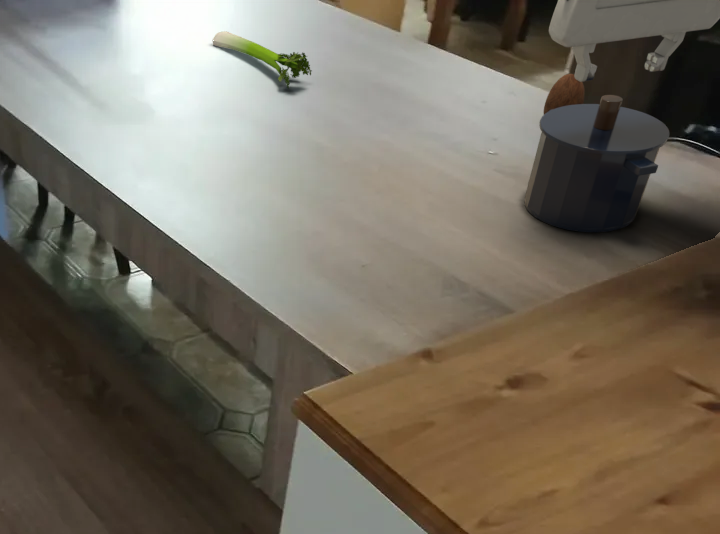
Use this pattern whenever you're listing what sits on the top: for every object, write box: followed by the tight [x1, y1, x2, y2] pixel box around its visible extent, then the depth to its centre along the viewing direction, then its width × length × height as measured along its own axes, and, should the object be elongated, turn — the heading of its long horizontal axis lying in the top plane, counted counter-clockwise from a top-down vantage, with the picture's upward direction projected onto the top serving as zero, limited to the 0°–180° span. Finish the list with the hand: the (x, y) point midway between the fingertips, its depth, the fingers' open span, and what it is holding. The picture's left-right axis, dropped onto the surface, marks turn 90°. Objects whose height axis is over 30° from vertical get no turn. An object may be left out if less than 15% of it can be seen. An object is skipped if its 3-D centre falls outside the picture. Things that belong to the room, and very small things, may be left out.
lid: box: [539, 94, 670, 155], centre depth 115 cm, size 15×15×5 cm
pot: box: [524, 109, 660, 233], centre depth 119 cm, size 14×19×10 cm
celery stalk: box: [212, 30, 313, 89], centre depth 166 cm, size 6×7×30 cm
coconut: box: [543, 73, 586, 115], centre depth 139 cm, size 5×5×8 cm
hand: (618, 74), depth 111 cm, fingers open, 8 cm apart
